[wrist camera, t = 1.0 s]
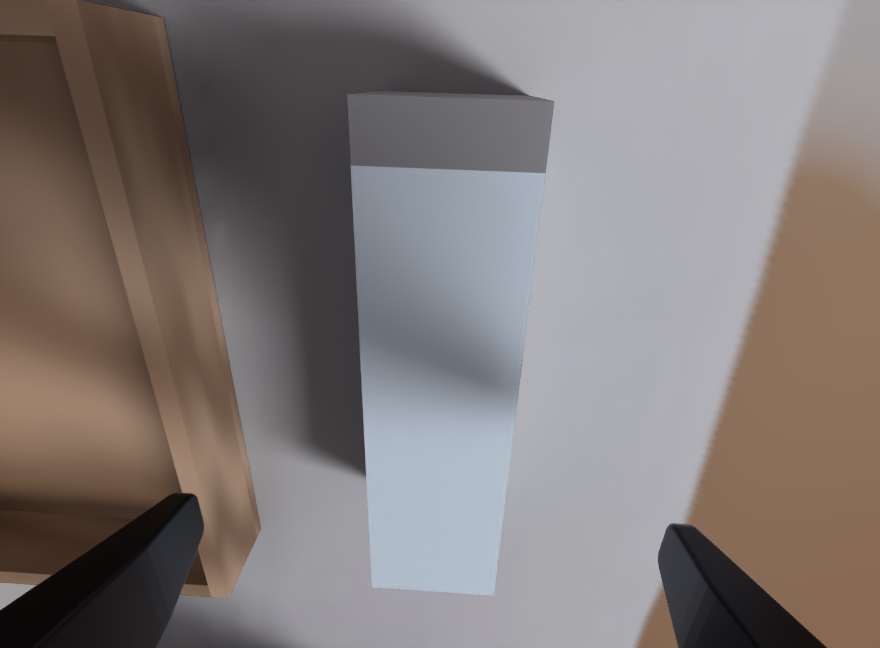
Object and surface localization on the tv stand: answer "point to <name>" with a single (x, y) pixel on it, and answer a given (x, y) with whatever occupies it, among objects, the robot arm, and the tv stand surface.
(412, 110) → the long pale blue block
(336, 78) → the tv stand surface
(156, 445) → the open brown box
